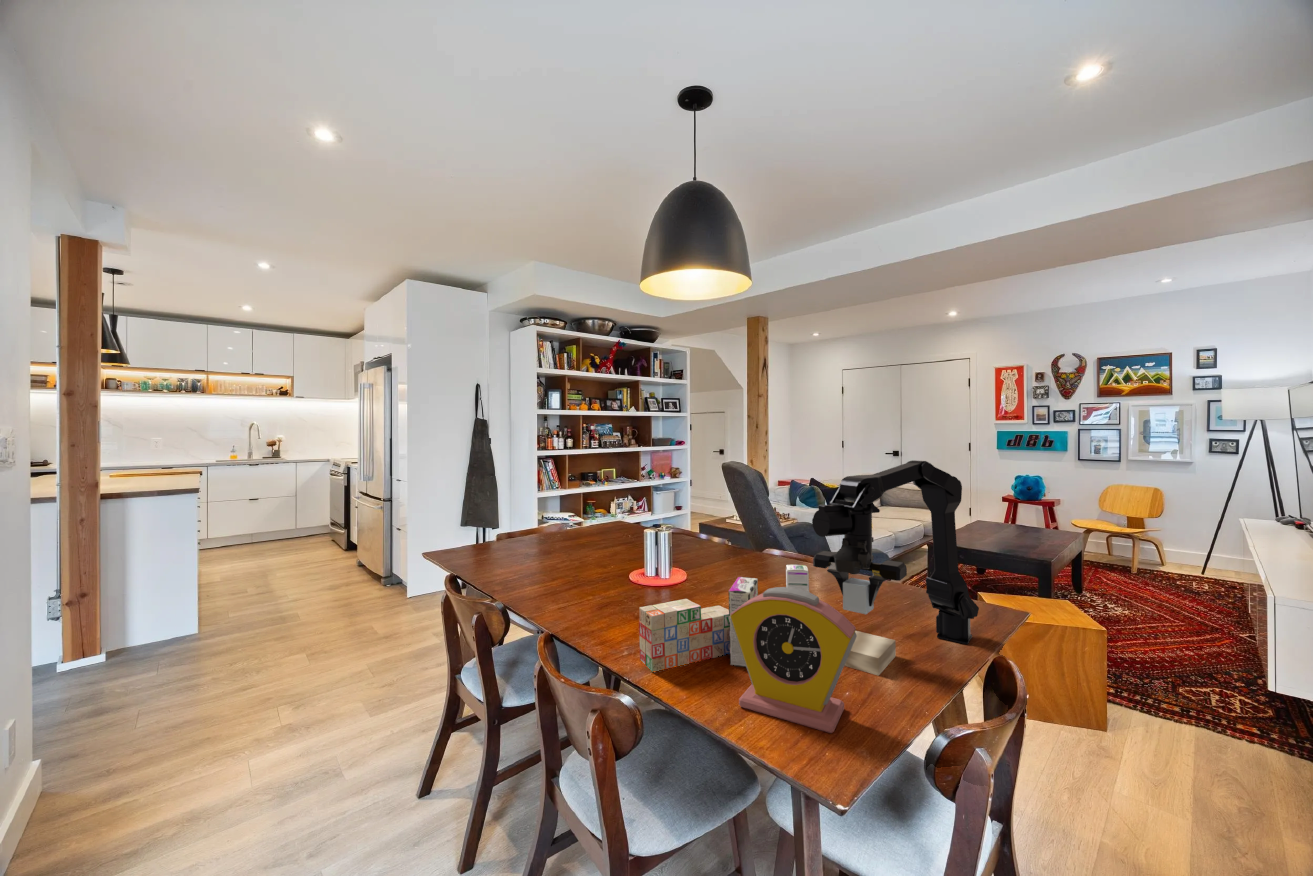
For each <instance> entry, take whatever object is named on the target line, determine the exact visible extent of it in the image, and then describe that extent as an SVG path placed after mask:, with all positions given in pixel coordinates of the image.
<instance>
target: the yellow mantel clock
mask: <svg viewBox="0 0 1313 876" xmlns="http://www.w3.org/2000/svg"><path fill="white" fill-rule="evenodd" d="M730 617H731V619H730V620H731V623H732V626H733V629H734V632H735V635H736V638H737V641H738V644H739V647H740V650H741V653H742V656H743V659H744V662H745V665H746V667H745V668H746V670H747V674H748V677H749V679H750V680H749V681H750V682H751V685H750V686H749V687H748V688H747V689H746V690H745V692H743V694H742V695H740V697H739V698H738V705H739V707H740V708H744V709H746V710H749V711H754V712H756V713H760V714H764V715H768V716H771V717H774V718H778V719H781V720H784V721H788V722H791V723H795V724H798V725H801V726H804V727H808V728H811V729H813V730H814V729H815V730H819V731H820V732H825V733H829V734H833V733H834V732H835V731H836V730H835V729H836V728H837V725H838V724H839V721H840V718H841V716H842V714H843V712H844V710H845V702H844V701H843V700H841V699H839V698H835V697H832V696H833V693H834V690H835V689H836V686H837V684H838V682H839V679H840V676H841V674H842V672H843V669H844V668H845V666H844V665H845V663H846V660H847V658H848V656H849V653H850V651H851V649H852V646H853V644H854V642H855V639H856V637H857V635H856V633H855V631H857V630H856V626H855V625H854V624H853V623H852V622H851V621H850V620H849V619H848V618H847V617H846V616H845V615H844V614H843V613H841V612H840V611H838V610H837V609H835V607H834V606H832V605H831V604H830V603H828V602H825V601H823V600H821V599H820V598H819V596H817V595H816V594H813V593H812V592H810V591H809V592H807V591H804V590H801V589H797V588H794V587H786V586H777V587H770V588H767V589H766V590H764V591H763V592H762V593H760V594H758V596H756V597H754V598H751V599H750V600H748V601H747V602H746V603H744V604H743V605H741V606H740V607H739V608H737V609H736V610H735V611H733V612H732V613H731V616H730Z"/></svg>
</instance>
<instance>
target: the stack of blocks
mask: <svg viewBox="0 0 1313 876" xmlns="http://www.w3.org/2000/svg"><path fill="white" fill-rule="evenodd" d="M638 609H639V616H638V617H639V621H638V634H639V637H638V638H639V661H640V660H641V661H642V662H643V663H644V664H645V665H646V666H647V667H648V668H649V669H650V670H651V671H652V672H653V671H659V670H662V669H668V668H672V667H674V666H680V665H684V664H689V663H692V662H695V663H698V662H697V661H699V662H702V661H701V660H703V661H706V660H705V659H707V660H711V659H715V658H719V657H723V656H727V655H726V654H728V655H730V634H729V608H726V607H723V606H721V605H714V606H709V607H708V606H707V607H702V606H701V605H700V604H698V603H695V601H694V602H693V601H691V600H690V599H688V598H683V599H678V600H677V599H676V600H673V601H671V600H670V601H668V602H663V603H657V604H653V605H652V604H650V605H646V606H640V607H639V608H638ZM722 655H723V656H722ZM718 656H719V657H718ZM710 658H711V659H710ZM692 664H693V663H692ZM689 665H690V664H689ZM684 666H685V665H684ZM680 667H681V666H680ZM672 669H673V668H672ZM668 670H669V669H668ZM651 671H650V672H651ZM652 672H651V673H652ZM659 672H660V671H659Z"/></svg>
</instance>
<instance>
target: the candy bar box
mask: <svg viewBox="0 0 1313 876" xmlns="http://www.w3.org/2000/svg"><path fill="white" fill-rule="evenodd" d="M758 581H759V579H758V578H755V577H744V576H738V577H737V578H736V580H735V581H734V582H733V584H732V585H731V587H730V588H729V589H728V610H729V634H730V654H729V665H730V666H733V665H734V666H733V667H740V668H746V665H745V662H744V659H743V656H742V653H741V650H740V647H739V644H738V641H737V638H736V635H735V632H734V629H733V626H732V623H731V620H730V619H731V617H730V616H731V613H732V612H733V611H735V610H736V609H737V608H739V607H740V606H741V605H743V604H744V603H746V602H747V601H748V600H750V599H751V598H754V597H756V596H758V595H759V593H758V592H759V590H758V589H759V585H758V584H759V583H758Z"/></svg>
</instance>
